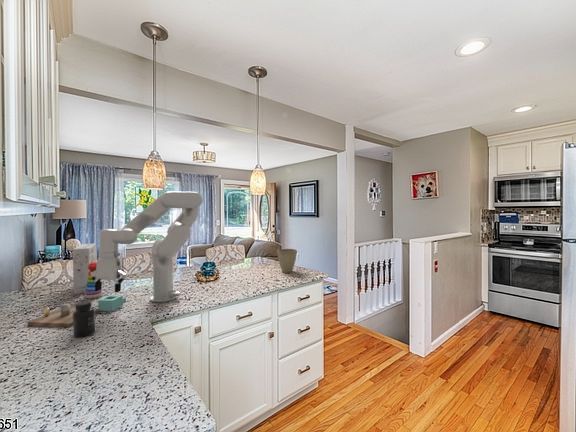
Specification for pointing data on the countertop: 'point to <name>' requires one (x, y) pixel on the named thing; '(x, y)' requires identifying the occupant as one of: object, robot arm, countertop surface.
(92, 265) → the stacking toy
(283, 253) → the plant pot
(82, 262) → the cereal box
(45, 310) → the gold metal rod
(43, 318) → the post base
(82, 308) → the supplement bottle
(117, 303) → the teal square scoop
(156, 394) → the countertop surface
